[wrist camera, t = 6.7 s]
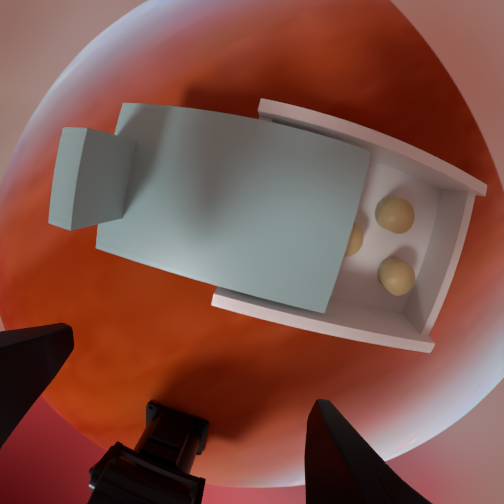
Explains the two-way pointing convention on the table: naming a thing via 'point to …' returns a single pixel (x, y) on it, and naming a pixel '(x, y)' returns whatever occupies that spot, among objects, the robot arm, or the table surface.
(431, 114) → the table surface
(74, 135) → the lid
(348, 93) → the table surface
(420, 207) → the parts tub
